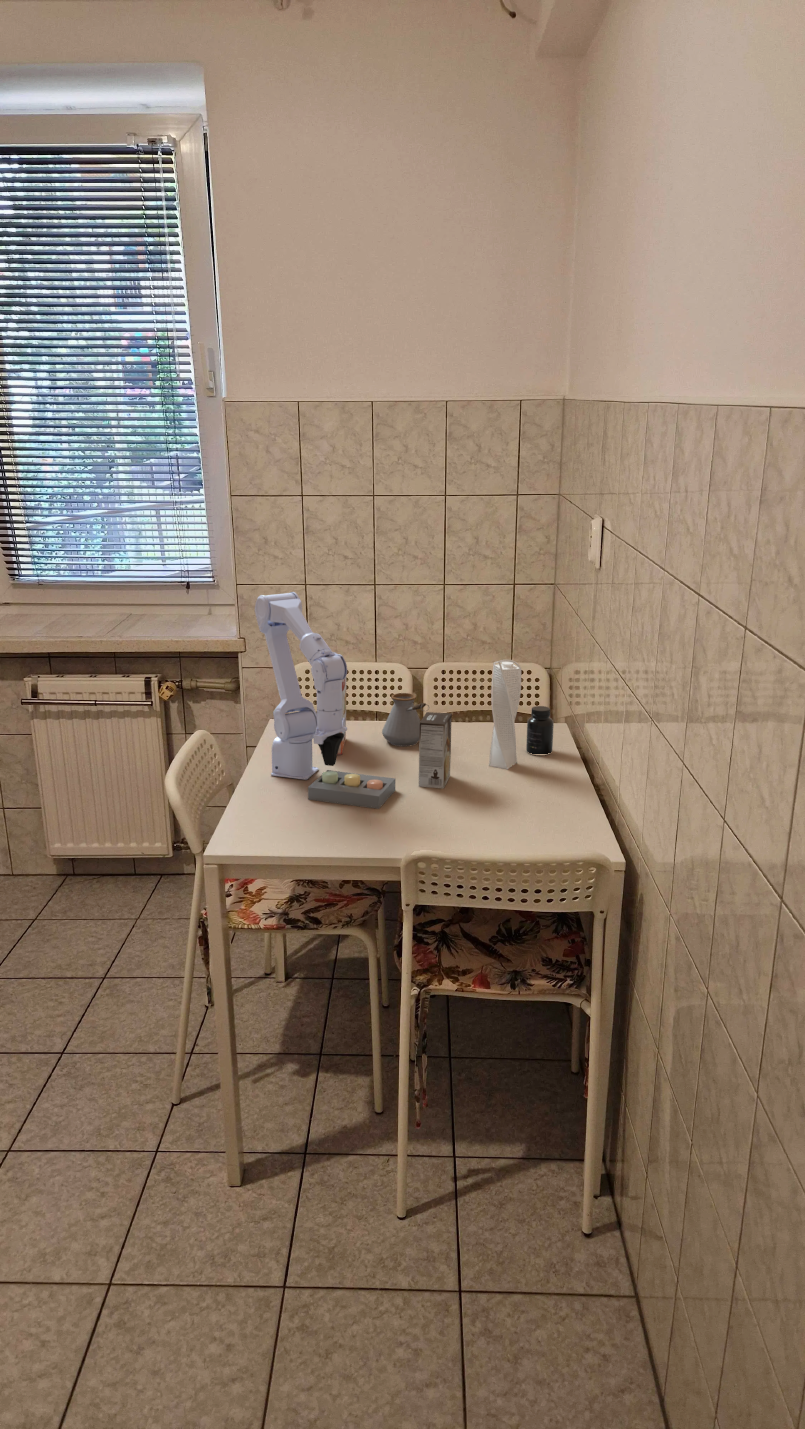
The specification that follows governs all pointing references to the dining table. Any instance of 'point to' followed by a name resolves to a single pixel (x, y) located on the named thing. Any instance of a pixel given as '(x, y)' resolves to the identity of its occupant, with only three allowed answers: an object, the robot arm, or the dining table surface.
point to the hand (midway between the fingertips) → (329, 764)
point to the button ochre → (352, 780)
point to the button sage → (330, 777)
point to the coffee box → (435, 749)
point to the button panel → (352, 791)
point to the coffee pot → (403, 721)
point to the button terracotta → (375, 784)
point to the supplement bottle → (540, 731)
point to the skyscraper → (504, 712)
